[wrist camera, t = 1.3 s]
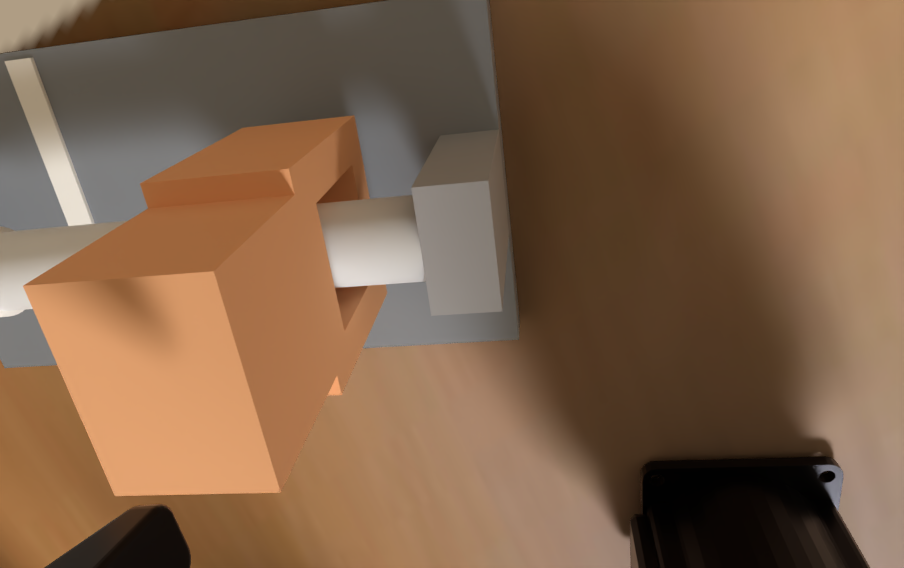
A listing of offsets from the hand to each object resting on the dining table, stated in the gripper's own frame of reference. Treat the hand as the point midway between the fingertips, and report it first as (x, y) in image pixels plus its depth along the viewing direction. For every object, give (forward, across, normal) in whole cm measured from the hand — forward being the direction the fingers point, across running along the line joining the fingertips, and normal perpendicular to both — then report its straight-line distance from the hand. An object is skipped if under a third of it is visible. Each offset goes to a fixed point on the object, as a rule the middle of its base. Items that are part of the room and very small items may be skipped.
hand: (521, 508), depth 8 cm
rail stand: (+13, +10, -1) cm, 16 cm away
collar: (+10, +6, -1) cm, 12 cm away
